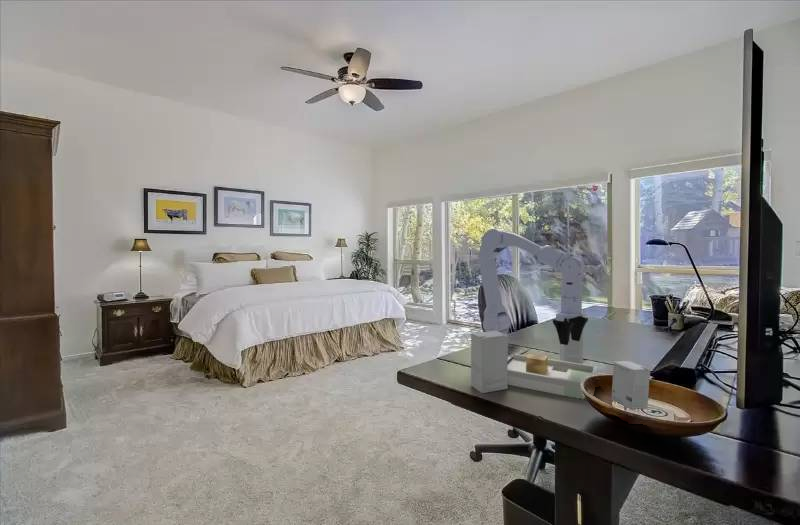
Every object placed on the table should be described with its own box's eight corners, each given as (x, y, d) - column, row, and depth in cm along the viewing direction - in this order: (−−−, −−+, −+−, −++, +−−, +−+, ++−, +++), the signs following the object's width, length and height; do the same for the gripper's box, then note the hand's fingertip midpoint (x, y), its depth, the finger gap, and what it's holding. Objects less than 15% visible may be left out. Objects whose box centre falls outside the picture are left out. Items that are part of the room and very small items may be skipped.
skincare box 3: (609, 413, 84) (611, 360, 84) (626, 412, 85) (628, 360, 85) (630, 426, 78) (632, 369, 78) (649, 424, 79) (651, 368, 78)
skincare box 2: (577, 362, 123) (578, 326, 123) (582, 366, 119) (583, 329, 119) (558, 361, 124) (559, 326, 123) (563, 365, 120) (564, 329, 119)
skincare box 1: (495, 382, 103) (496, 329, 103) (508, 390, 98) (509, 334, 97) (469, 386, 100) (470, 331, 100) (481, 394, 95) (482, 336, 94)
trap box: (498, 382, 103) (498, 368, 103) (514, 366, 118) (514, 353, 118) (592, 401, 91) (593, 385, 91) (597, 380, 106) (597, 366, 106)
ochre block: (525, 371, 105) (526, 357, 105) (529, 366, 110) (530, 353, 110) (544, 374, 103) (544, 360, 103) (547, 369, 107) (547, 356, 107)
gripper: (573, 300, 102) (572, 349, 103) (595, 296, 112) (594, 341, 112) (549, 297, 108) (548, 343, 108) (572, 294, 117) (570, 337, 117)
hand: (569, 342), depth 110 cm, fingers open, 7 cm apart
